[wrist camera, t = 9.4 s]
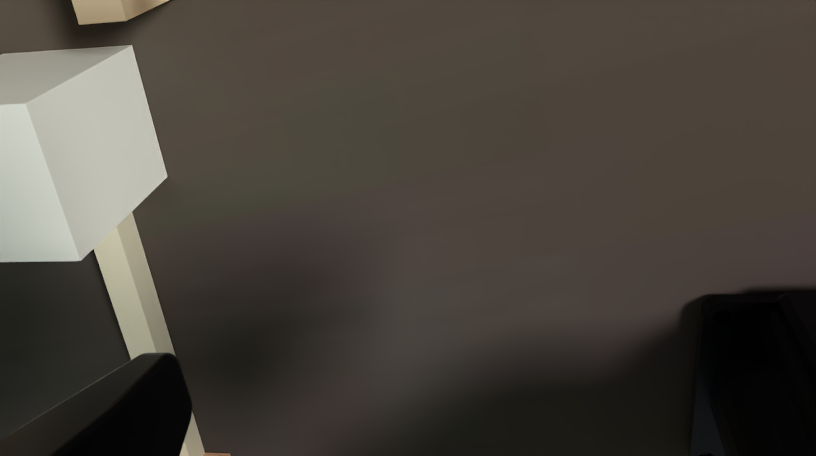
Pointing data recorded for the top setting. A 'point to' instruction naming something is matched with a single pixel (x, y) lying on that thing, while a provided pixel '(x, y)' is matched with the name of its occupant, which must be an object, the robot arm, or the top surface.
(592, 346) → the top surface
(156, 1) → the oak lane
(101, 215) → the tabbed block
